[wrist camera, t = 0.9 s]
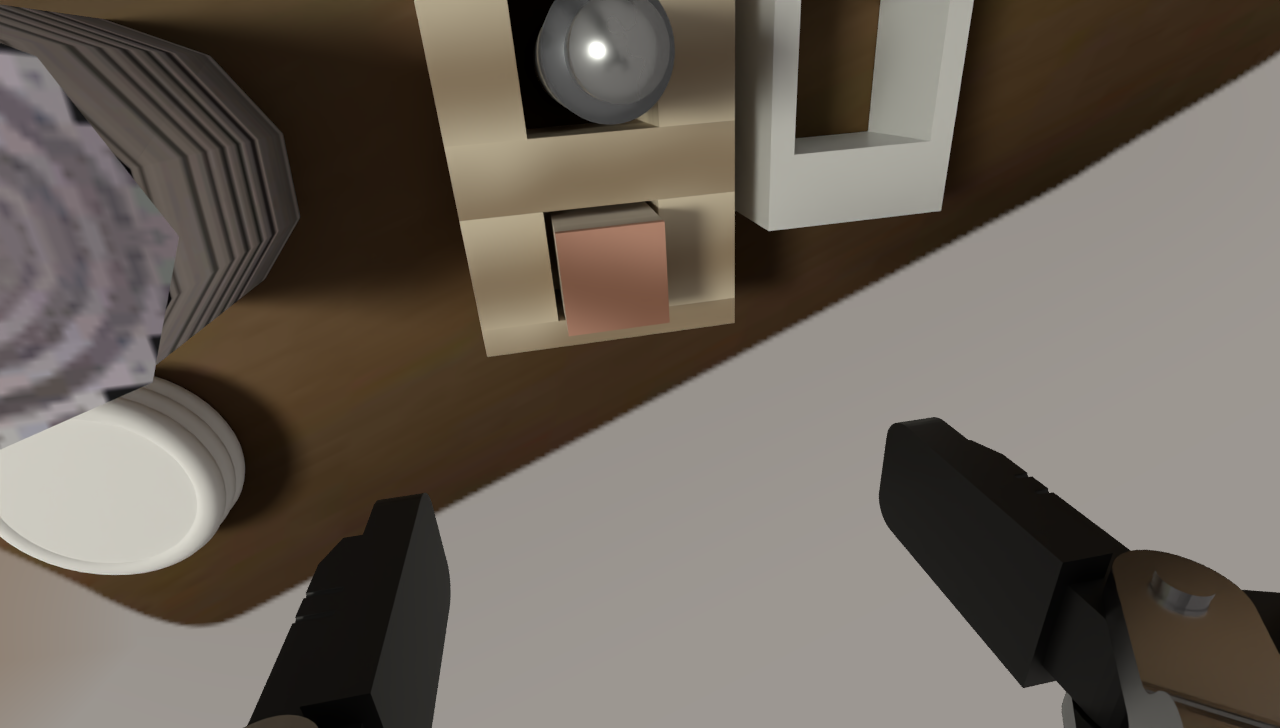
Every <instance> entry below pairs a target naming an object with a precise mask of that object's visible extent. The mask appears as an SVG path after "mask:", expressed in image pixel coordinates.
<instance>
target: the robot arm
mask: <svg viewBox="0 0 1280 728" xmlns="http://www.w3.org/2000/svg"><path fill="white" fill-rule="evenodd" d="M879 503H880V508H881V512H882V515H883V518H884V520H885V522H886V524H887V526H888V527H889V528H890V530H891V531H892V532H893V533H894V535H895V536H896V537H897V538H898V540H899V541H900V542H901V543H902V544H903V545H904V547H906V549H907V550H908V551H909V552H910V554H911V555H912V556H913V557H914V559H915V560H916V561H917V562H918V563H919V564H920V566H921V567H922V568H923V569H924V571H925V572H926V573H927V574H928V575H929V576H930V578H931V579H932V580H933V581H934V582H935V584H936V585H937V586H938V587H939V588H940V590H941V591H942V592H943V593H944V594H945V595H946V597H947V598H948V599H949V600H950V601H951V603H952V604H953V605H954V606H955V607H956V609H957V610H958V611H959V612H960V613H961V615H962V616H963V617H964V618H965V619H966V621H967V622H968V623H969V624H970V625H971V627H972V628H973V629H974V630H975V631H976V632H977V634H978V635H979V636H980V637H981V638H982V640H983V641H984V642H985V643H986V644H987V646H988V647H989V648H990V649H991V650H992V651H993V653H994V654H995V655H996V656H997V657H998V659H999V660H1000V661H1001V662H1002V663H1003V665H1004V666H1005V667H1006V668H1007V669H1008V671H1009V672H1010V673H1011V674H1012V675H1013V676H1014V678H1015V679H1016V680H1017V681H1018V683H1019V684H1020V685H1021V686H1022V687H1023V688H1025V687H1030V686H1035V685H1039V684H1044V683H1048V682H1053V681H1057V682H1058V683H1059V684H1060V685H1061V686H1062V687H1063V688H1064V690H1065V691H1066V694H1065V697H1064V700H1063V703H1062V717H1063V725H1064V728H1280V593H1276V592H1263V591H1250V590H1241V589H1240V588H1239V587H1238V586H1237V585H1235V584H1234V583H1233V582H1231V581H1230V580H1228V579H1227V578H1226V577H1224V576H1222V575H1221V574H1219V573H1217V572H1216V571H1214V570H1212V569H1210V568H1208V567H1206V566H1204V565H1202V564H1199V563H1197V562H1195V561H1192V560H1190V559H1187V558H1184V557H1181V556H1178V555H1174V554H1170V553H1166V552H1160V551H1153V550H1133V551H1130V550H1129V549H1128V548H1126V547H1125V546H1124V545H1122V544H1121V543H1120V542H1118V541H1117V540H1116V539H1114V538H1113V537H1112V536H1110V535H1109V534H1108V533H1106V532H1105V531H1104V530H1102V529H1101V528H1100V527H1098V526H1097V525H1096V524H1095V523H1093V522H1092V521H1090V520H1089V519H1088V518H1086V517H1085V516H1084V515H1083V514H1081V513H1080V512H1078V511H1077V510H1076V509H1075V508H1073V507H1072V506H1071V505H1069V504H1068V503H1066V502H1065V501H1064V500H1063V499H1061V498H1060V497H1059V496H1057V495H1056V494H1054V493H1049V492H1048V488H1047V487H1045V486H1044V485H1043V484H1041V483H1040V482H1039V481H1037V480H1036V479H1034V478H1033V477H1028V475H1027V472H1025V471H1024V470H1023V469H1021V468H1020V467H1019V466H1017V465H1016V464H1015V463H1013V462H1012V461H1011V460H1009V459H1008V458H1007V457H1006V456H1004V455H1003V454H1001V453H998V452H996V451H994V450H992V449H990V448H987V447H985V446H983V445H981V444H978V443H976V442H974V441H972V440H968V439H966V438H965V437H964V436H963V435H961V434H960V433H959V432H957V431H956V430H955V429H954V428H952V427H951V426H950V425H948V424H947V423H946V422H945V421H943V420H942V419H940V418H936V417H933V418H926V419H919V420H913V421H907V422H900V423H895V424H893V425H892V426H891V427H890V428H889V430H888V433H887V438H886V446H885V453H884V461H883V468H882V475H881V483H880V490H879ZM306 595H307V596H306V598H304V599H303V601H302V603H301V605H300V608H299V610H298V612H297V615H296V622H295V623H293V624H292V626H291V628H290V630H289V633H288V635H287V637H286V639H285V642H284V644H283V646H282V649H281V651H280V653H279V656H278V658H277V660H276V662H275V664H274V667H273V669H272V671H271V674H270V676H269V678H268V680H267V683H266V685H265V687H264V689H263V692H262V694H261V696H260V699H259V701H258V703H257V705H256V708H255V710H254V712H253V714H252V717H251V719H250V721H249V723H248V725H247V726H246V727H244V728H432V722H433V715H434V708H435V701H436V695H437V688H438V681H439V675H440V668H441V661H442V655H443V648H444V641H445V634H446V627H447V620H448V613H449V607H450V576H449V569H448V564H447V560H446V556H445V553H444V549H443V545H442V541H441V537H440V533H439V529H438V525H437V521H436V518H435V514H434V510H433V506H432V503H431V500H430V497H429V496H428V494H427V493H422V494H415V495H409V496H402V497H395V498H389V499H382V500H378V501H376V503H375V504H374V507H373V509H372V512H371V515H370V517H369V520H368V523H367V525H366V528H365V531H364V533H363V535H359V536H353V537H347V538H343V539H342V540H341V541H340V542H339V543H338V544H337V545H336V546H335V547H334V549H333V550H332V551H331V552H330V553H329V554H328V555H327V556H326V557H325V558H324V559H323V560H322V561H321V562H320V563H319V565H318V567H317V569H316V571H315V574H314V576H313V578H312V580H311V583H310V585H309V587H308V590H307V592H306Z"/></svg>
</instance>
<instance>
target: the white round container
mask: <svg viewBox="0 0 1280 728" xmlns="http://www.w3.org/2000/svg"><path fill="white" fill-rule="evenodd" d="M244 478H245V461H244V455H243V452H242V448H241V445H240V443H239V441H238V439H237V437H236V435H235V433H234V432H233V430H232V429H231V428H230V426H229V425H228V423H227V422H226V421H225V420H224V419H223V418H222V416H221V415H220V414H219V413H218V412H217V411H216V410H215V409H213V408H212V407H211V406H210V405H209V404H208V403H206V402H205V401H204V400H202V399H201V398H199V397H198V396H196V395H195V394H193V393H192V392H190V391H188V390H186V389H184V388H183V387H181V386H179V385H176V384H174V383H172V382H170V381H167V380H165V379H162V378H159V377H156V376H154V378H153V382H152V383H150V384H148V385H146V386H143V387H141V388H139V389H137V390H134V391H132V392H130V393H128V394H125V395H123V396H121V397H118V398H116V399H114V400H112V401H109V402H107V403H105V404H103V405H100V406H98V407H96V408H94V409H91V410H89V411H87V412H84V413H82V414H80V415H78V416H75V417H73V418H71V419H69V420H66V421H64V422H62V423H60V424H57V425H55V426H53V427H50V428H48V429H46V430H44V431H41V432H39V433H37V434H35V435H32V436H30V437H28V438H25V439H23V440H21V441H19V442H16V443H14V444H12V445H10V446H7V447H5V448H3V449H1V450H0V537H1V538H3V539H4V540H5V541H7V542H8V543H10V544H11V545H13V546H14V547H16V548H17V549H19V550H21V551H23V552H25V553H26V554H28V555H30V556H32V557H34V558H37V559H39V560H42V561H44V562H47V563H49V564H52V565H56V566H59V567H62V568H65V569H70V570H75V571H79V572H86V573H93V574H105V575H130V574H138V573H145V572H150V571H155V570H159V569H162V568H165V567H168V566H171V565H173V564H175V563H178V562H180V561H182V560H184V559H186V558H187V557H189V556H191V555H192V554H193V553H195V552H196V551H198V550H199V549H200V548H201V547H203V546H204V545H205V544H206V543H207V542H208V541H209V540H210V539H211V538H212V537H213V536H214V534H215V533H216V531H217V530H218V528H219V526H220V524H221V523H222V522H223V521H224V519H225V518H226V516H227V515H228V513H229V511H230V509H231V508H232V507H233V506H234V504H235V503H236V501H237V500H238V498H239V496H240V493H241V491H242V488H243V484H244Z"/></svg>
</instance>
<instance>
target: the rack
mask: <svg viewBox="0 0 1280 728" xmlns="http://www.w3.org/2000/svg"><path fill="white" fill-rule="evenodd" d="M973 2H974V0H881V2H880V12H879V22H878V33H877V43H876V54H875V64H874V75H873V85H872V96H871V106H870V116H869V127H868V131H866V132H856V133H845V134H835V135H825V136H815V137H804V138H795V125H796V103H797V80H798V58H799V35H800V13H801V0H735V211H737V212H739V213H740V214H742V215H743V216H745V217H747V218H748V219H750V220H751V221H753V222H755V223H756V224H758V225H759V226H761V227H763V228H764V229H766V230H768V231H774V230H783V229H791V228H800V227H808V226H817V225H825V224H834V223H842V222H851V221H859V220H868V219H876V218H884V217H893V216H901V215H910V214H918V213H927V212H935V211H941V208H942V201H943V195H944V188H945V182H946V176H947V169H948V163H949V156H950V150H951V143H952V137H953V131H954V124H955V118H956V111H957V105H958V99H959V92H960V86H961V79H962V73H963V66H964V60H965V54H966V47H967V41H968V34H969V28H970V22H971V15H972V9H973Z"/></svg>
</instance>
